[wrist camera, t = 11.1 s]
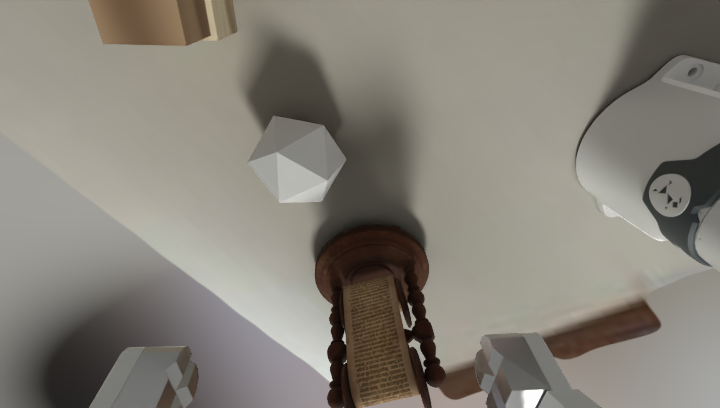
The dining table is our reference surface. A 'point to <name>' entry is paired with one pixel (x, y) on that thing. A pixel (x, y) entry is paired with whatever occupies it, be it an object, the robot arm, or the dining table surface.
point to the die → (297, 160)
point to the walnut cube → (151, 21)
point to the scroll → (377, 317)
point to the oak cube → (220, 19)
